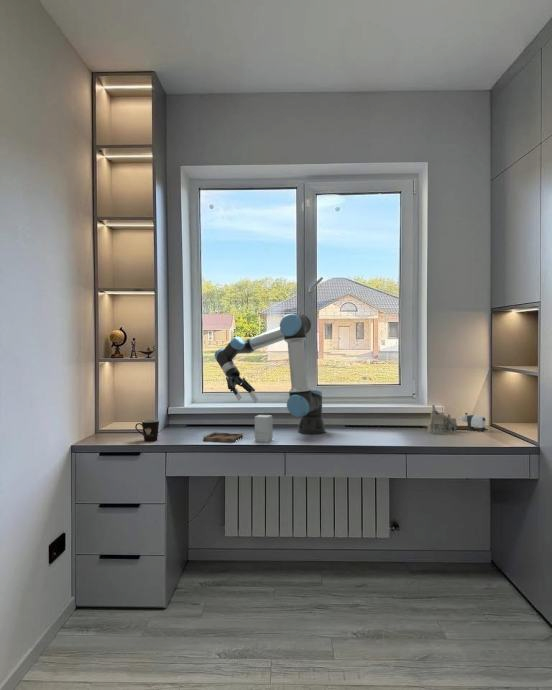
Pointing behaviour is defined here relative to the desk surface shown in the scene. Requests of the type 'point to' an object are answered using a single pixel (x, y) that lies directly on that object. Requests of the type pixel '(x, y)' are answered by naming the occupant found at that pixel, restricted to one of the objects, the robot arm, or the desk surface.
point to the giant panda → (474, 421)
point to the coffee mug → (149, 430)
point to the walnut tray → (222, 437)
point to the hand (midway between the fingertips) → (248, 400)
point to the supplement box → (263, 428)
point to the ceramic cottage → (441, 424)
